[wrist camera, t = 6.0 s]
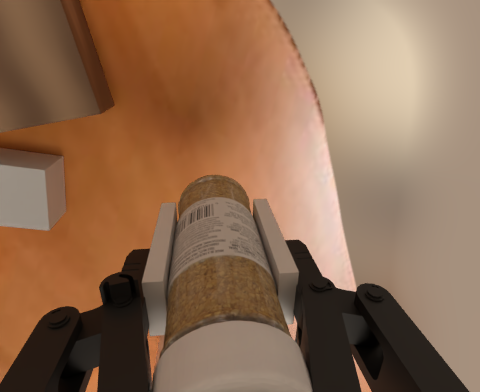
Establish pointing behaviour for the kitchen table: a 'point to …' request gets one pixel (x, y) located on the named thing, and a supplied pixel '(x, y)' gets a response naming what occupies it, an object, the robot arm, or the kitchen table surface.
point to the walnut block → (48, 65)
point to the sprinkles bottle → (224, 302)
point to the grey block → (31, 189)
